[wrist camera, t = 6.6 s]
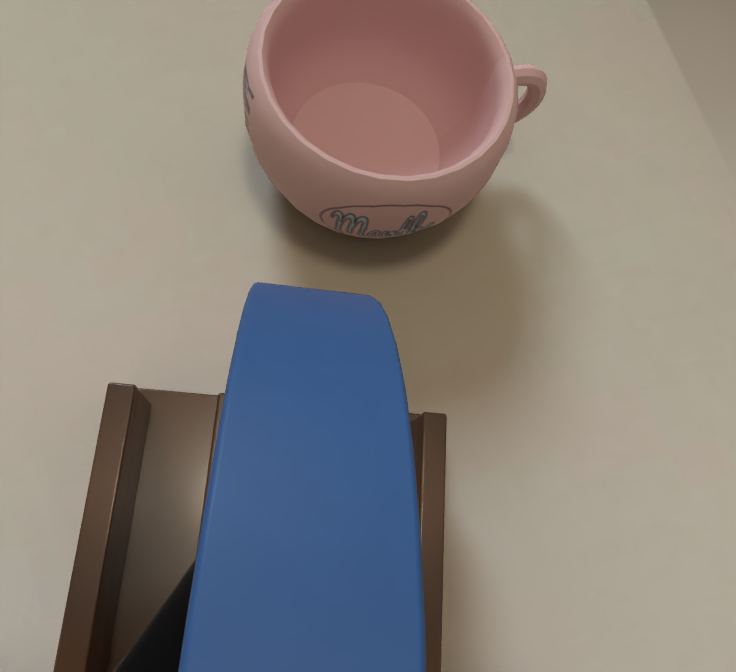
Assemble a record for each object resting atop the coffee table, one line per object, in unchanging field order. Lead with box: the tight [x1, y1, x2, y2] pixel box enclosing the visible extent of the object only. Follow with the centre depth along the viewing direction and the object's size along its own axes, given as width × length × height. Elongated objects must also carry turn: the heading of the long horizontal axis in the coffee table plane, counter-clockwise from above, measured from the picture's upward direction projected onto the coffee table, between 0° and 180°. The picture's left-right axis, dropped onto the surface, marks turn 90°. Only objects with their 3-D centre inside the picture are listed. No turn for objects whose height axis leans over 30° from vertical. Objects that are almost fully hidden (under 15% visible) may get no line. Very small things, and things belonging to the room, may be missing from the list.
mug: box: [243, 0, 547, 239], centre depth 25 cm, size 12×10×6 cm
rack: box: [53, 383, 447, 672], centre depth 20 cm, size 13×12×4 cm
